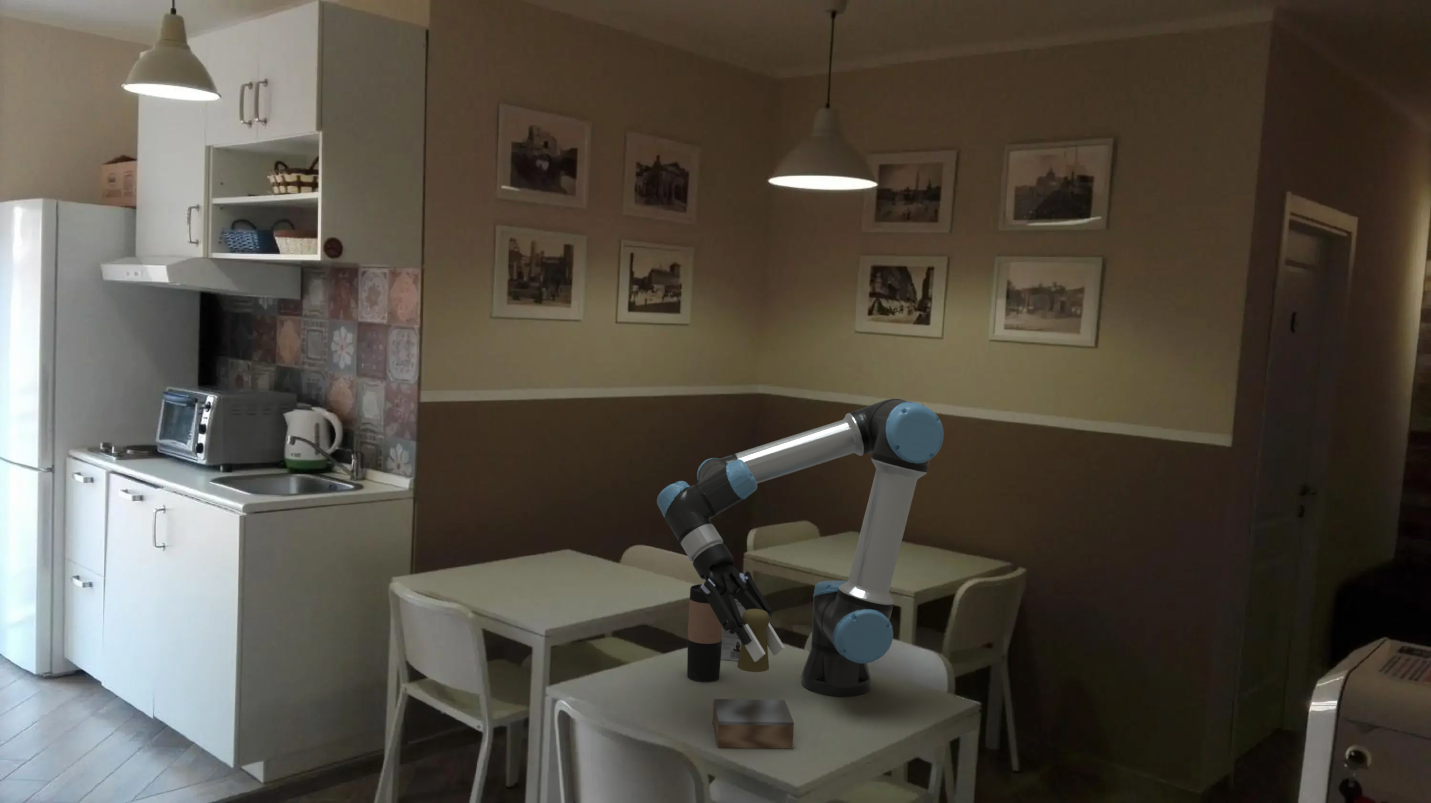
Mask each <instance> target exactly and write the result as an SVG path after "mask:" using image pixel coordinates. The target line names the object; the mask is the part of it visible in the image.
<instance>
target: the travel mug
mask: <svg viewBox="0 0 1431 803" xmlns="http://www.w3.org/2000/svg"><path fill="white" fill-rule="evenodd" d="M702 584H703V583H699V584H693V585H691V586H690V588H689V589H690V590H689V602H688V603H689V605H688V606H689V608H688V611H689V612H688V624H687V625H688V628H687V658H686V660H687V669H686V671H687V672H686V673H687V674H686V676H687V678H688V679H689V680H691V681H694V682H699V683H710V682H711V683H712V682H716V681H717V680H719V679H720V673H721V661H722V660H721V649H722V632H723V627H722V625H721V623H720V621H719V620H718V618H717V616H716V615H715V613H714V611H713V609H712V608H711V606H710V604H709V602H708V601H707V599H706V597H705V596H704V595H703V594H702V593H701V592H700V591H699V587H700V586H701V585H702Z"/></svg>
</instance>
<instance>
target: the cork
mask: <svg viewBox="0 0 1431 803" xmlns="http://www.w3.org/2000/svg"><path fill="white" fill-rule="evenodd" d="M742 620H743V623H744V624H743V625H745V624H748V625H749V627H750V629H751V630H752V632H753V633H754V635H755V637H756V638H757V640H758V642H759V643H760V645H761V647H762V648H763V650H764V652H765V653H766V654H765V655H764V656H762V657H761V658H760V659H759V660H758V661H756V662H754V660H753V659H752V657H751V655H750V654H749V652H748V650H747V649H746V647H745V646H744V645H743V644H742V643H741V649H740V654H739V659H738V661H737V668H738V669H739V670H741V671H743V672H744V671H745V672H748V673H749V672H750V673H763V672H766V671H768V670H770V665H769V652H768V649H769V647H768V645H767V635H766V628H767V626H768V624H769V621H770V617H769V615H768V613H767V612H766V611H764V610H760V609H748V610H746V611H745V612H744V613H743V616H742Z"/></svg>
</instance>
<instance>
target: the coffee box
mask: <svg viewBox="0 0 1431 803" xmlns="http://www.w3.org/2000/svg"><path fill="white" fill-rule="evenodd" d="M739 590H740V589H739ZM739 590H738V591H739ZM738 591H737V592H738ZM737 592H736V593H737ZM734 600H735V602H736V605H737V607H738V610H739V613H740V615H741V618H742V616H743V613H744V612H745V611H746V609H745V608H744V607H743V606H742V605H741V604H740V602H739V601H738V600H737V599H734ZM726 622H728V620H727V621H726ZM743 626H744V625H743ZM729 631H730V630H728V631H726V630H724V628H723V632H722V649H721V661H722V660H723V661H733V662H738V659H739V654H740V649H741V641H740V639H739V638H738V636H737V634H736V633H734V634H730V633H729Z"/></svg>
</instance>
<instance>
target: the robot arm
mask: <svg viewBox="0 0 1431 803" xmlns="http://www.w3.org/2000/svg"><path fill="white" fill-rule="evenodd" d="M944 432H945V431H944V426H943V424H942V421H941V419H940V418H939V416H938V415H937V413H936V412H934V410H932V409H931V408H929V407H927V406H925V405H924V404H923V403H919V402H917V401H909V400H905V399H901V398H889V399H885V400H881V401H879V402H875V403H874V404H870V405H867V406H865V407H862V408H860V409H859V408H858V409H857V410H854V411H851V412H848V413H846V414H845V416H844V418H843V419H841V420H838V421H835V422H832V423H829V424H826V425H823V426H819V427H816V428H812V429H810V430H809V429H808V430H807V431H803V432H800V433H797V434H792V435H790V436H787V437H783V438H781V439H778V440H774V441H771V442H768V443H765V444H762V445H759V446H755V447H752V448H749V449H746V450H743V451H740V452H737V453H734V454H730V455H727V456H724V457H721V458H718V457H711V458H708V459H705V460H704V461H703V462H702V463H701V464H700V465H699V466H698V469H697V472H696V478H697V483H695V484H693V485H690V484H688V482H686V481H684V480H679V481H676V482H675V483H671V484H669V485H667V486H666V487H665V488H663V489H662V490H661V491H660V493H659V494H658V495H657V499H656V504H657V506H658V509H659V510H660V513H661V514H662V516H663V518H664V520H665V522H666V523H667V524H668V527H669V528H670V529H671V531H672V533H673V534H674V537H675V538H676V539H677V541H678V543H679V544H680V546H681V547H682V548H683V551H684V553H685V554H686V555H687V557H688V559H689V561H691V562H692V566H693V567H694V569H695V572H696V573H697V574H698V576H699V578H700V579H701V580H705V581H704V582H703V583H701V584H702V585H701V586H700V587H699V591H700V592H701V593H702V594H703V595H704V596H705V597H706V599H707V601H708V602H709V604H710V606H711V608H712V609H713V611H714V613H715V615H716V616H717V618H718V620H719V621H720V623H721V625H722V627H723V628H724V630H726V631H728V630H730V631H729V633H730V634H734V633H736V634H737V636H738V638H739V639H740V641H741V643H742V644H743V645H744V646H745V647H746V649H747V650H748V652H749V654H750V655H751V657H752V659H753V660H754V662H756V661H758V660H759V659H760V658H761V657H762V656H764V655H765V654H766V653H765V652H764V650H763V648H762V647H761V645H760V643H759V642H758V640H757V638H756V637H755V635H754V633H753V632H752V630H751V629H750V627H749V625H748V624H745V625H744V626H743V624H744V623H743V620H742V618H741V615H740V613H739V610H738V607H737V605H736V602H735V600H734V599H737V600H738V601H739V602H740V604H741V605H742V606H743V607H744V608H745V609H746V610H748V609H760V610H764V611H766V612H767V613H768V615H769V618H770V617H771V616H772V614H773V609H772V608H771V607H770V605H769V603H768V602H767V600H766V599H765V597H764V596H763V594H762V593H761V591H760V589H759V588H758V586H757V585H756V583H755V582H754V580H753V576H752V574H751V572H750V571H748V570H747V571H745V573H742V572H739V570H738V569H737V568H736V567H735V566H734V563H733V562H734V556H733V555H732V553H731V552H730V549H728V547H727V545H726V544H725V543H724V539H723V538H722V536H721V535H720V533H719V531H717V529H716V527H715V526H714V524H713V523H712V521H711V519H712V518H714V517H716V516H718V515H719V514H720V513H722V512H725V511H726V510H727V509H729V508H730V507H732V506H734V505H736V504H737V503H739V502H741V501H742V500H745V499H747V498H748V497H749V496H750V495H752V494H753V493H754V492H756V491H757V490H758V484H759V483H763V482H766V481H769V480H772V479H775V478H779V477H783V476H786V475H789V474H793V473H795V472H798V471H801V470H805V469H808V468H810V467H811V468H812V467H813V466H816V465H821V464H824V463H827V462H830V461H832V460H835V459H839V458H842V457H845V456H849V455H851V454H856V455H857V456H865V455H867V454H871V453H872V454H871V458H870V459H871V461H872V464H873V466H874V467H875V473H874V477H873V481H872V486H871V489H870V493H869V498H868V502H867V505H866V509H865V513H864V516H863V520H862V525H861V528H860V533H859V537H858V541H857V546H856V548H855V553H854V556H853V561H852V563H851V567H850V573H849V576H848V579H847V580H823V581H819V582H817V583H816V584H815V585H814V589H813V590H814V591H813V592H814V593H813V594H812V598H813V604H812V624H811V644H810V646H811V647H810V651H809V653H808V656H807V659H806V661H805V664H804V666H803V669H802V672H801V684H802V686H803V687H804V688H805V689H807V690H809V691H811V692H814V693H818V694H820V695H826V696H833V697H834V696H835V697H836V696H837V697H853V696H859V695H863V694H866V693H867V692H869V691H870V690H871V688H872V687H871V682H872V677H871V674H870V669H869V666H868V664H869V663H873V662H875V661H877V660H879V659H880V658H882V657H883V656H885V654H887V652H888V651H889V649H890V648H891V645H892V644H893V643H892V642H893V639H894V630H893V625H892V623H891V621H890V619H891V615H892V612H893V607H894V604H895V601H894V598H893V597H892V596H891V594H890V589H891V588H890V587H891V585H892V581H893V576H894V573H895V568H896V564H897V560H898V558H899V553H900V549H901V545H902V541H903V537H904V535H905V534H904V533H905V529H906V526H907V522H908V517H909V513H910V510H911V507H912V501H913V498H914V493H915V491H916V490H915V489H916V486H917V483H918V482H917V481H918V480H919V479H920V478H922V477H924V476H925V475H927V473H928V469H929V465H930V462H931V459H933V458H934V457H935V456H937V454H938V453H939V452H940V450H941V448H942V445H943V443H944V437H945V436H944V435H945V434H944ZM739 589H740V590H739ZM738 590H739V591H738ZM737 591H738V592H737ZM736 592H737V593H736ZM727 620H728V622H726V621H727ZM776 631H777V630H776V629H775V628H774V626H773V624H772V623H771V621H770V620H769V624H768V626H767V628H766V635H767V648H768V649H769V650H770V652H771V653H772V655H773V656H777V655H778V654H779V653H780V652H781V651H783V650H784V649H785V645H784V644H783V643H782V640H781V638H779V635H778V634H777V632H776Z"/></svg>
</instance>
